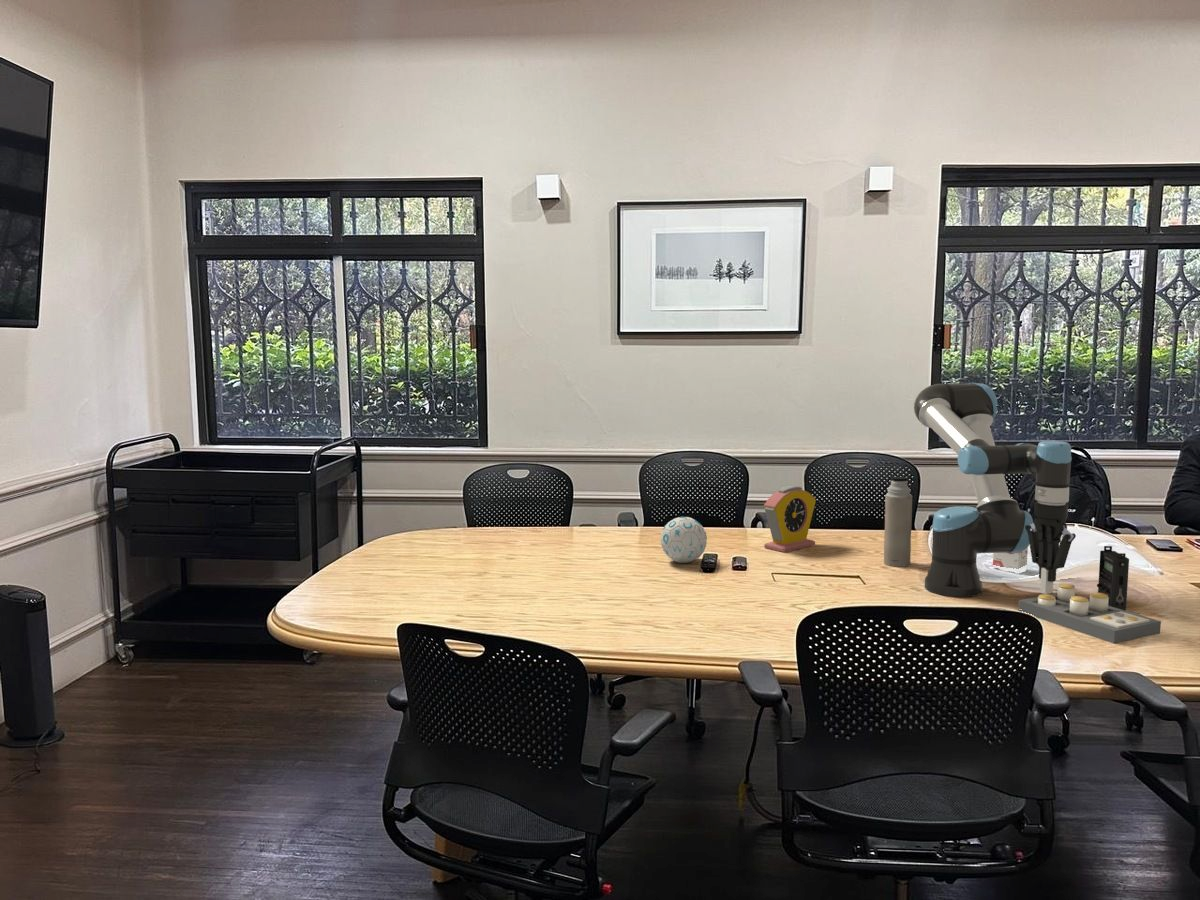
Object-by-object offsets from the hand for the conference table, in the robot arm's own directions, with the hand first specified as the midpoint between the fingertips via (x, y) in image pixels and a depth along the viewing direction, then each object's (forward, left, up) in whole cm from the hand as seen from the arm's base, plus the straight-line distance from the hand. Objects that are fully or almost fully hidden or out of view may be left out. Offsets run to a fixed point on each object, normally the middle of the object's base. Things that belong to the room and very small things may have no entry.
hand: (1046, 592), depth 210 cm
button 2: (0, +7, -3) cm, 8 cm away
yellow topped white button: (+9, +7, -3) cm, 12 cm away
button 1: (0, 0, -5) cm, 5 cm away
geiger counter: (+2, +21, -6) cm, 22 cm away
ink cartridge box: (-34, +26, -6) cm, 44 cm away
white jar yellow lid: (+9, 0, -3) cm, 10 cm away
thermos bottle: (-55, +1, -6) cm, 55 cm away
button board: (+9, +3, -6) cm, 11 cm away
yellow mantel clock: (-89, -16, -6) cm, 91 cm away
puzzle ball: (-87, -59, -6) cm, 105 cm away
